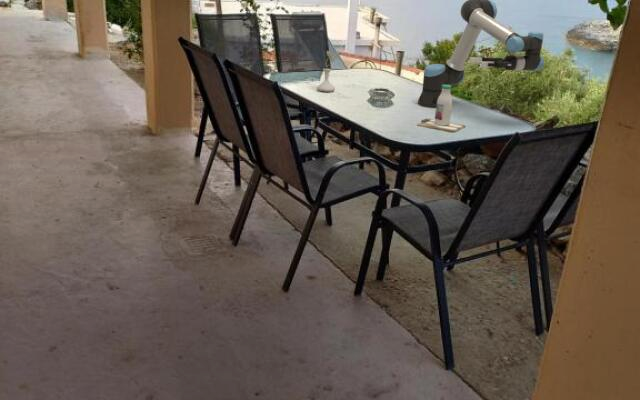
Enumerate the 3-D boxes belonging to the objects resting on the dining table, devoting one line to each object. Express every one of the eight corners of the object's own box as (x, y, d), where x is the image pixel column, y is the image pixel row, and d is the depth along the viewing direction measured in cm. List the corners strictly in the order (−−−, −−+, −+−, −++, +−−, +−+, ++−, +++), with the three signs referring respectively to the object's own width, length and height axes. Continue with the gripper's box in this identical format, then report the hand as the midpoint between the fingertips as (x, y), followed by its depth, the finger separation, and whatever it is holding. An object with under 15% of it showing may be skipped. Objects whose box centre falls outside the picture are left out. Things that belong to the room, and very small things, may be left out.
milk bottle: (447, 122, 307) (452, 84, 300) (450, 126, 300) (456, 87, 293) (432, 122, 307) (437, 83, 299) (435, 125, 300) (440, 86, 292)
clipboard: (429, 120, 315) (430, 116, 314) (465, 126, 305) (466, 123, 304) (416, 125, 303) (417, 122, 302) (453, 132, 292) (454, 129, 292)
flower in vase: (335, 93, 370) (337, 52, 361) (316, 92, 370) (318, 51, 361) (334, 89, 382) (337, 50, 373) (317, 88, 382) (319, 49, 373)
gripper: (524, 74, 294) (485, 73, 290) (501, 66, 317) (464, 65, 313) (527, 59, 292) (487, 58, 288) (503, 52, 314) (466, 51, 310)
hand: (475, 62), depth 300 cm, fingers open, 13 cm apart
